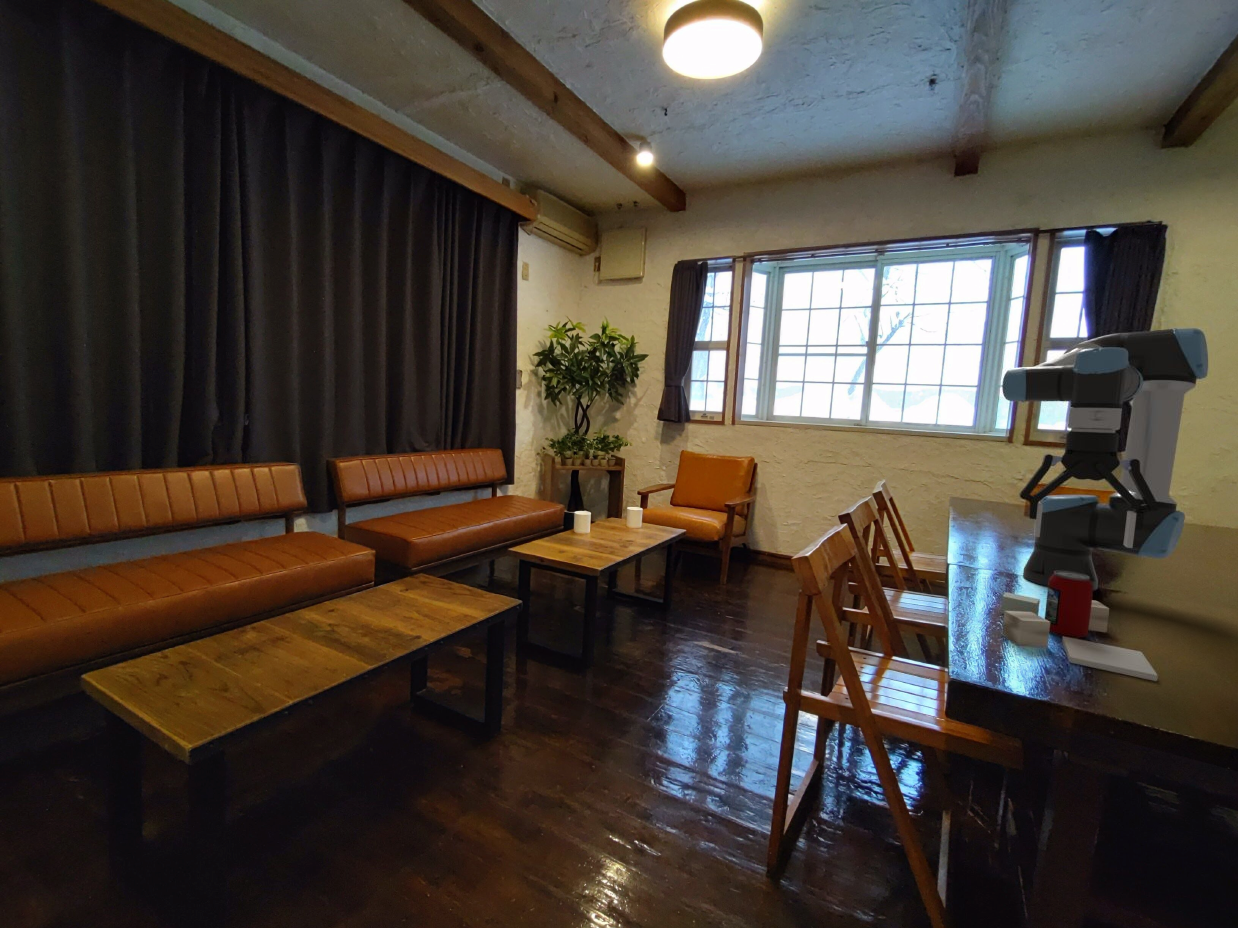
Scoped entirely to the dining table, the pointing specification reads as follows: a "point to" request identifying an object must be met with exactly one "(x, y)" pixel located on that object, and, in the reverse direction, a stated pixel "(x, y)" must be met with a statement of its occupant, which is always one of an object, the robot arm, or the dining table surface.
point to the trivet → (1108, 658)
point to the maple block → (1026, 629)
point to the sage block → (1019, 603)
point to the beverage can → (1069, 604)
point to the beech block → (1098, 617)
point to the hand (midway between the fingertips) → (1080, 541)
